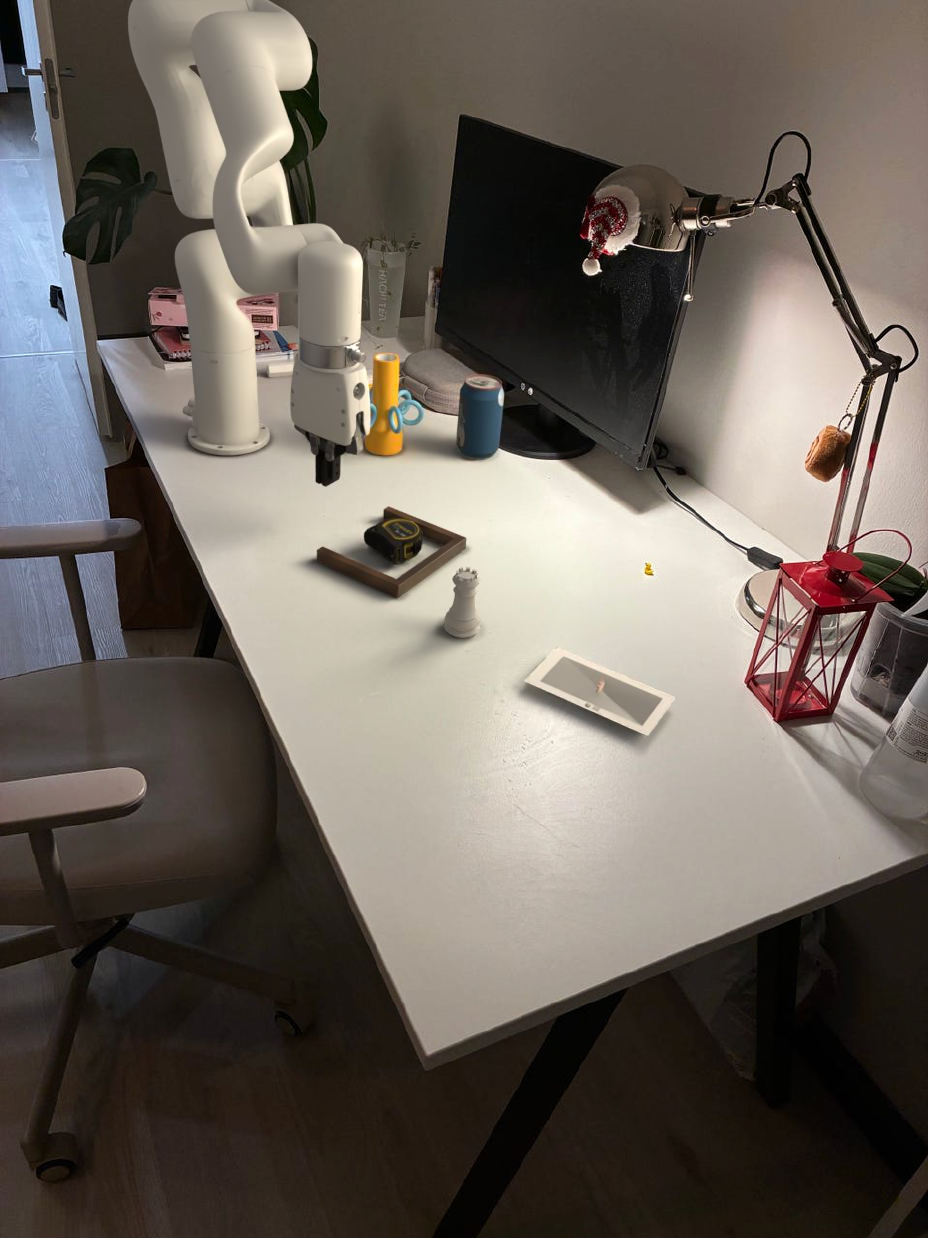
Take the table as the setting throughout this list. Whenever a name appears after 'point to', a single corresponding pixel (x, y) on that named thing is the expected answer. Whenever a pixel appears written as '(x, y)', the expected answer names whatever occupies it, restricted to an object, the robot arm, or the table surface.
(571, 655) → the touchpad
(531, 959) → the table surface
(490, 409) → the soda can
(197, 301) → the robot arm
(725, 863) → the table surface
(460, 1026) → the table surface
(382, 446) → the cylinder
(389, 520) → the tape measure
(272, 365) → the marker
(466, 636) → the rook chess piece
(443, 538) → the frame
